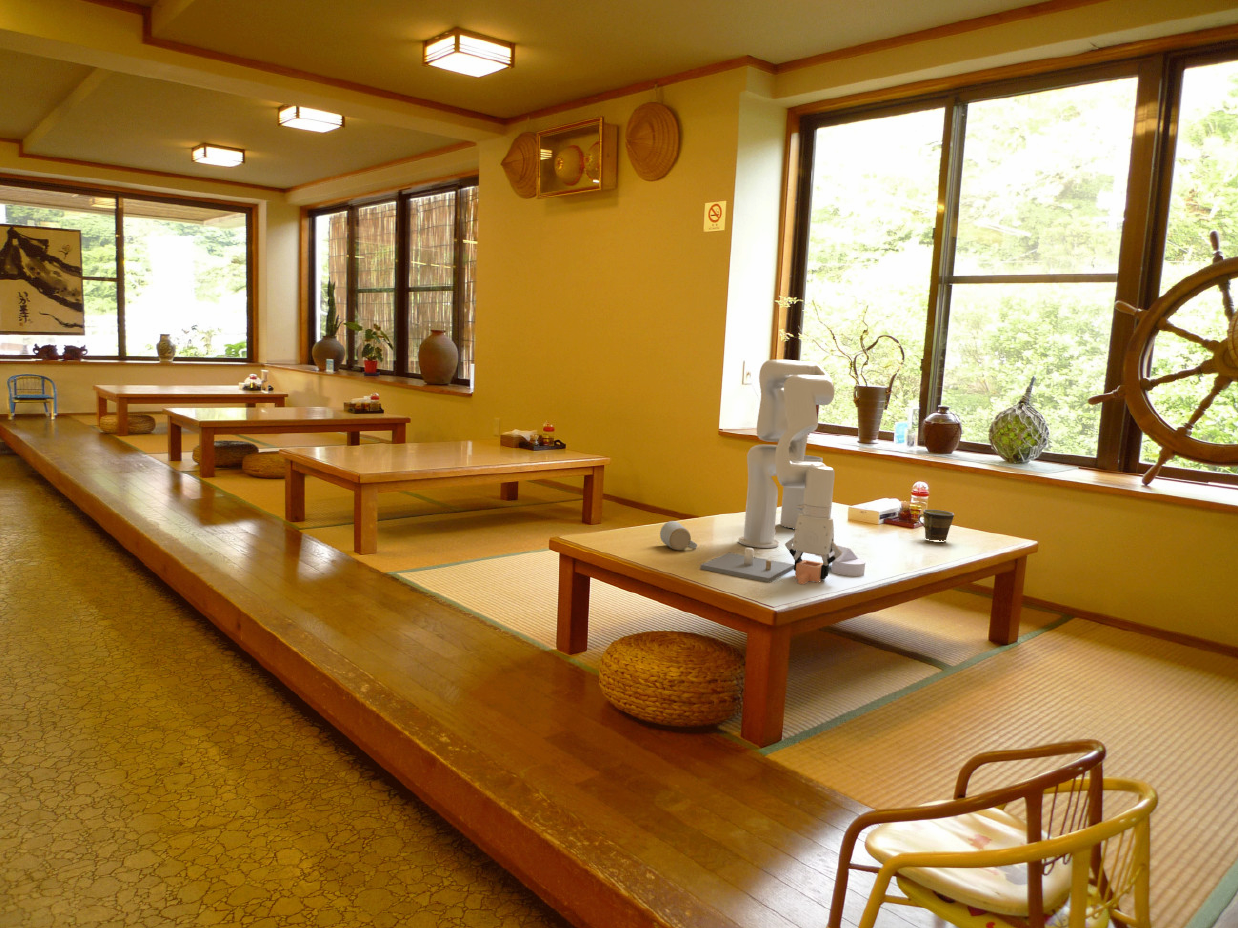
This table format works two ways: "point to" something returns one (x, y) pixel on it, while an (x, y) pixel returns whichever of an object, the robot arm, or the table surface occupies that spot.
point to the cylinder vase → (794, 500)
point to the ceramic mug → (676, 536)
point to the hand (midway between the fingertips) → (810, 575)
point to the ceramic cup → (936, 524)
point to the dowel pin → (768, 564)
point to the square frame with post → (808, 571)
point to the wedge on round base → (847, 563)
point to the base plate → (747, 566)
